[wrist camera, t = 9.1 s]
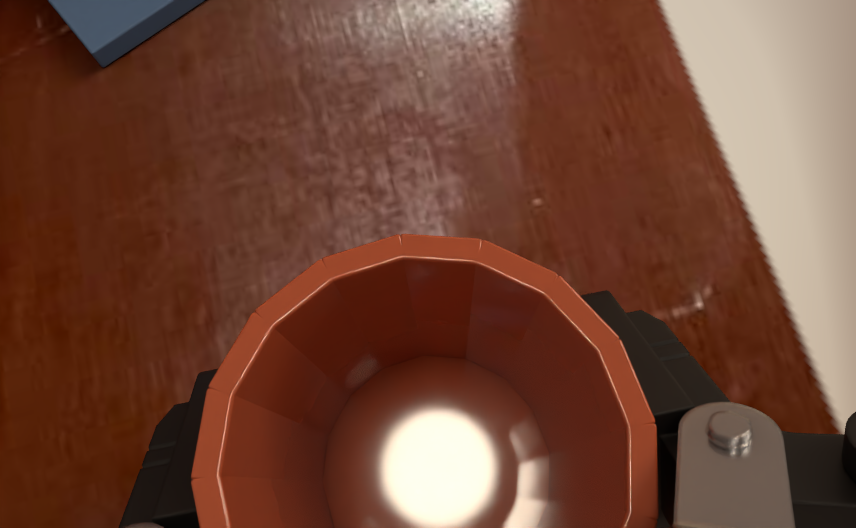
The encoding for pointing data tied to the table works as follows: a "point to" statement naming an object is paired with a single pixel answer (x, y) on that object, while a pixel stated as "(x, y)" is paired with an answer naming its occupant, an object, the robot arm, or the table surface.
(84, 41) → the board
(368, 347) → the red cup
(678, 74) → the table surface
